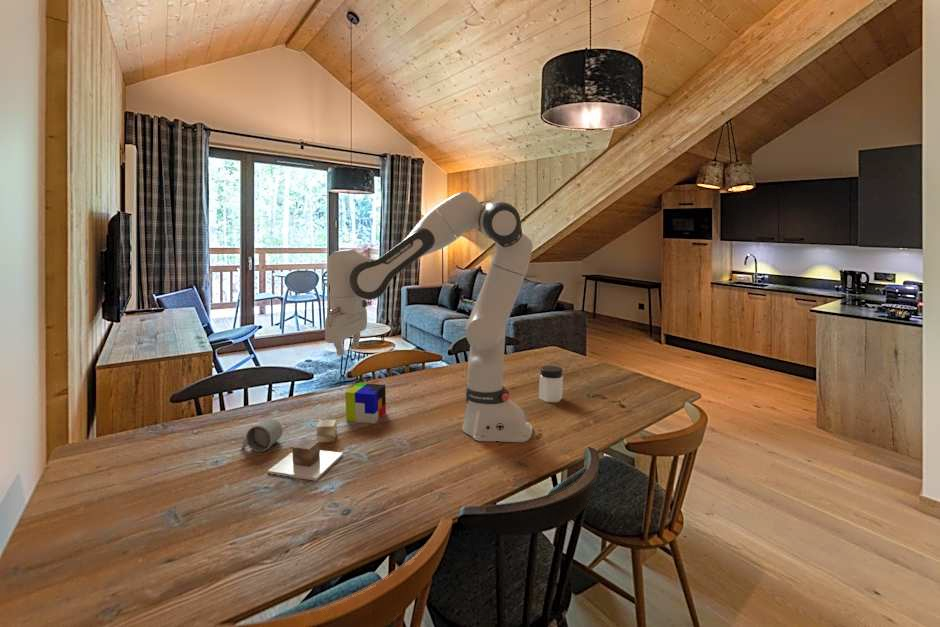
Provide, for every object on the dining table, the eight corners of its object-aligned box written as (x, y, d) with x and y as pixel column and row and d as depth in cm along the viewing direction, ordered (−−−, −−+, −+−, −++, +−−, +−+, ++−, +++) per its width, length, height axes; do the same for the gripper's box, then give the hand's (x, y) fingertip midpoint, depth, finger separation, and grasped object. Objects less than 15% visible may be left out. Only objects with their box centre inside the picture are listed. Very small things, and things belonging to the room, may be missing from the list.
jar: (543, 393, 187) (545, 364, 185) (564, 397, 183) (565, 367, 181) (536, 400, 179) (537, 369, 177) (557, 404, 175) (558, 373, 173)
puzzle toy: (374, 423, 156) (373, 394, 154) (346, 420, 158) (345, 392, 156) (385, 412, 165) (385, 385, 164) (359, 409, 167) (358, 382, 166)
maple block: (336, 434, 147) (336, 419, 146) (334, 441, 142) (333, 426, 141) (320, 435, 146) (319, 420, 145) (317, 442, 141) (316, 426, 141)
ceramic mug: (285, 440, 143) (283, 415, 141) (271, 452, 135) (269, 427, 133) (251, 439, 143) (249, 415, 142) (236, 451, 135) (233, 425, 134)
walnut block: (320, 458, 130) (319, 441, 129) (310, 466, 125) (309, 449, 124) (303, 456, 131) (302, 439, 130) (293, 464, 126) (292, 447, 125)
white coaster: (343, 455, 133) (342, 452, 133) (316, 480, 120) (316, 477, 120) (298, 449, 136) (298, 447, 136) (267, 473, 123) (267, 470, 123)
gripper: (338, 311, 128) (341, 360, 130) (369, 300, 148) (372, 343, 150) (317, 310, 129) (320, 359, 132) (351, 300, 149) (353, 342, 151)
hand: (348, 351), depth 141 cm, fingers open, 8 cm apart
